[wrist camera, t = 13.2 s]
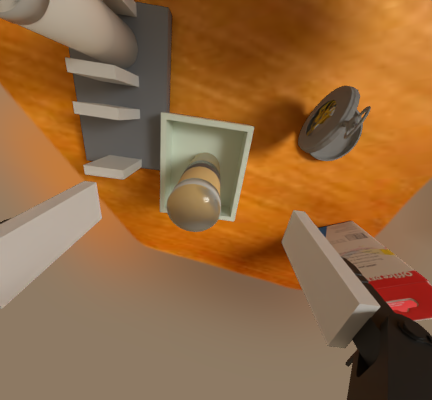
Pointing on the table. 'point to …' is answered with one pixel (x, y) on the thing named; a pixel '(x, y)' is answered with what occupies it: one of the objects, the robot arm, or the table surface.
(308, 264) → the robot arm
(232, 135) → the parts tray
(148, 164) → the fuse board
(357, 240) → the ink box
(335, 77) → the table surface
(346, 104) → the pocket watch
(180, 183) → the cylinder
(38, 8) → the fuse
